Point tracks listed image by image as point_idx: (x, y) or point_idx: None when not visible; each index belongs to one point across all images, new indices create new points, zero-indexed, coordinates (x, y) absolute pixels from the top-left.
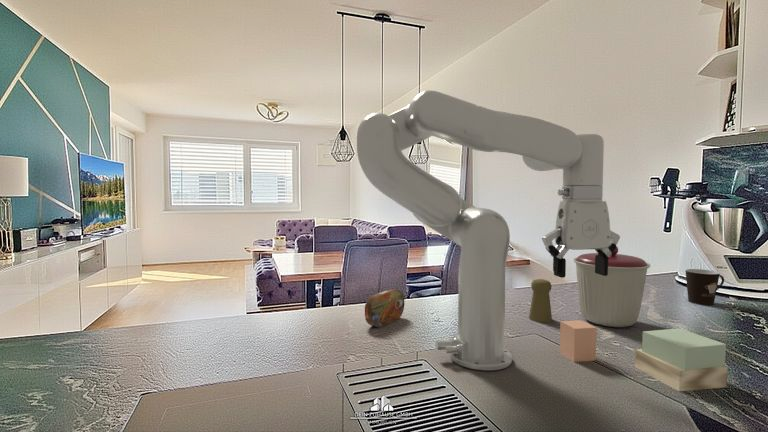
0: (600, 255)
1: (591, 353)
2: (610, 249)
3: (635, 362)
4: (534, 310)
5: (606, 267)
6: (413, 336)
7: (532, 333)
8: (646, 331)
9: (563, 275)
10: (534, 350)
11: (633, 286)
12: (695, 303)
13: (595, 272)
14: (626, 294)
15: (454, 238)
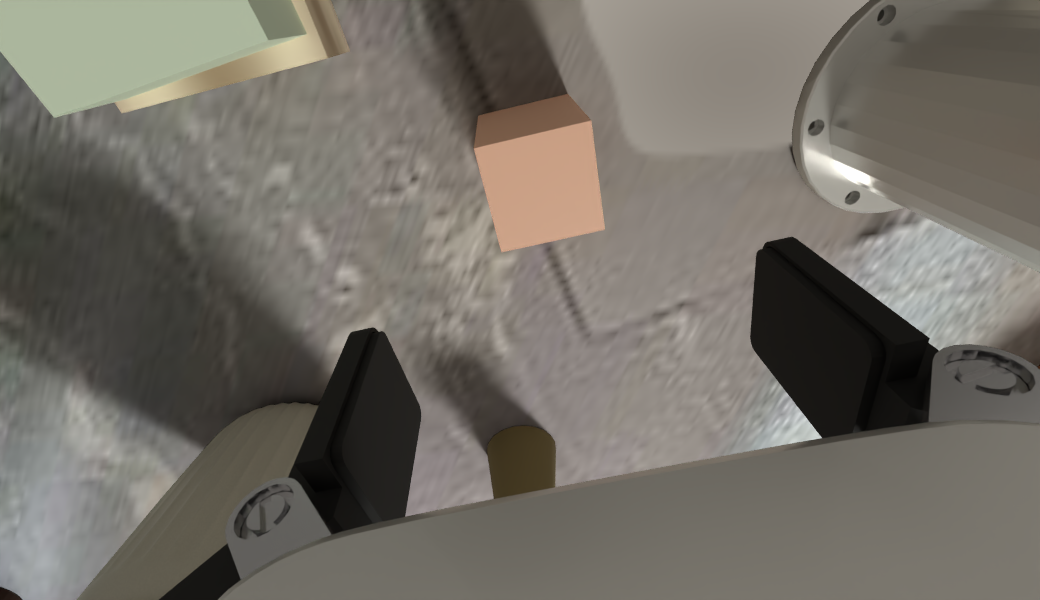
0: (361, 521)
1: (496, 116)
2: (213, 592)
3: (344, 52)
4: (550, 464)
5: (346, 373)
6: (1008, 285)
7: (599, 339)
8: (246, 43)
9: (793, 241)
10: (663, 194)
11: (168, 526)
12: (4, 590)
13: (419, 409)
14: (218, 491)
15: None
